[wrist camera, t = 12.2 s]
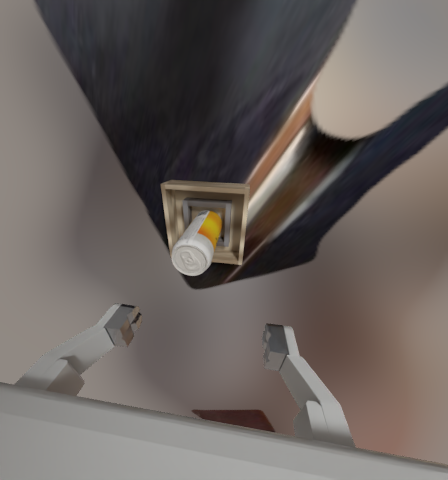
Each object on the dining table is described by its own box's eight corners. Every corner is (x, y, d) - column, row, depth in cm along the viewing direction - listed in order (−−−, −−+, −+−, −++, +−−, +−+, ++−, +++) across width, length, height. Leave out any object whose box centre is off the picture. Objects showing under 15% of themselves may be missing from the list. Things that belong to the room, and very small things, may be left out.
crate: (171, 179, 35) (160, 184, 30) (249, 184, 33) (249, 189, 29) (178, 246, 42) (170, 257, 38) (242, 252, 41) (241, 264, 37)
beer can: (203, 237, 39) (181, 281, 26) (190, 214, 37) (160, 250, 24) (226, 229, 38) (217, 272, 25) (215, 204, 35) (197, 237, 22)
